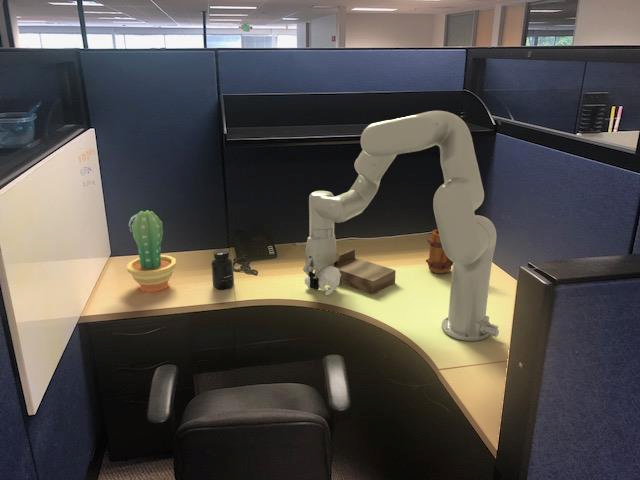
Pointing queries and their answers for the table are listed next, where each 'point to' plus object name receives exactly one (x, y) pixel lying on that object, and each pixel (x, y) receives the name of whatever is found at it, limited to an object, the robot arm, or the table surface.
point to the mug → (437, 255)
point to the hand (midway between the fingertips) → (322, 284)
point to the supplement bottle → (222, 270)
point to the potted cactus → (149, 253)
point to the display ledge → (363, 273)
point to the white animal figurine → (327, 279)
